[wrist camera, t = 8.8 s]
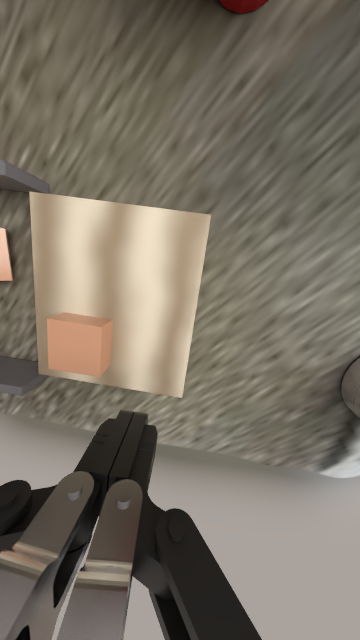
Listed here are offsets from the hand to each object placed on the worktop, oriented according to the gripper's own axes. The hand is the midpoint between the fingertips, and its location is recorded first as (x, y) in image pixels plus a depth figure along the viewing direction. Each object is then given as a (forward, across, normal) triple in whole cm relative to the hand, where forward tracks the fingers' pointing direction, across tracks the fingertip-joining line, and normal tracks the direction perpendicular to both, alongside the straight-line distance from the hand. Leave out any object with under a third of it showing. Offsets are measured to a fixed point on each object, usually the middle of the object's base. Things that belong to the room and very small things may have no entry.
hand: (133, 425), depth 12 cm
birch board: (+13, +5, -4) cm, 15 cm away
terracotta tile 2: (+10, +8, 0) cm, 13 cm away
